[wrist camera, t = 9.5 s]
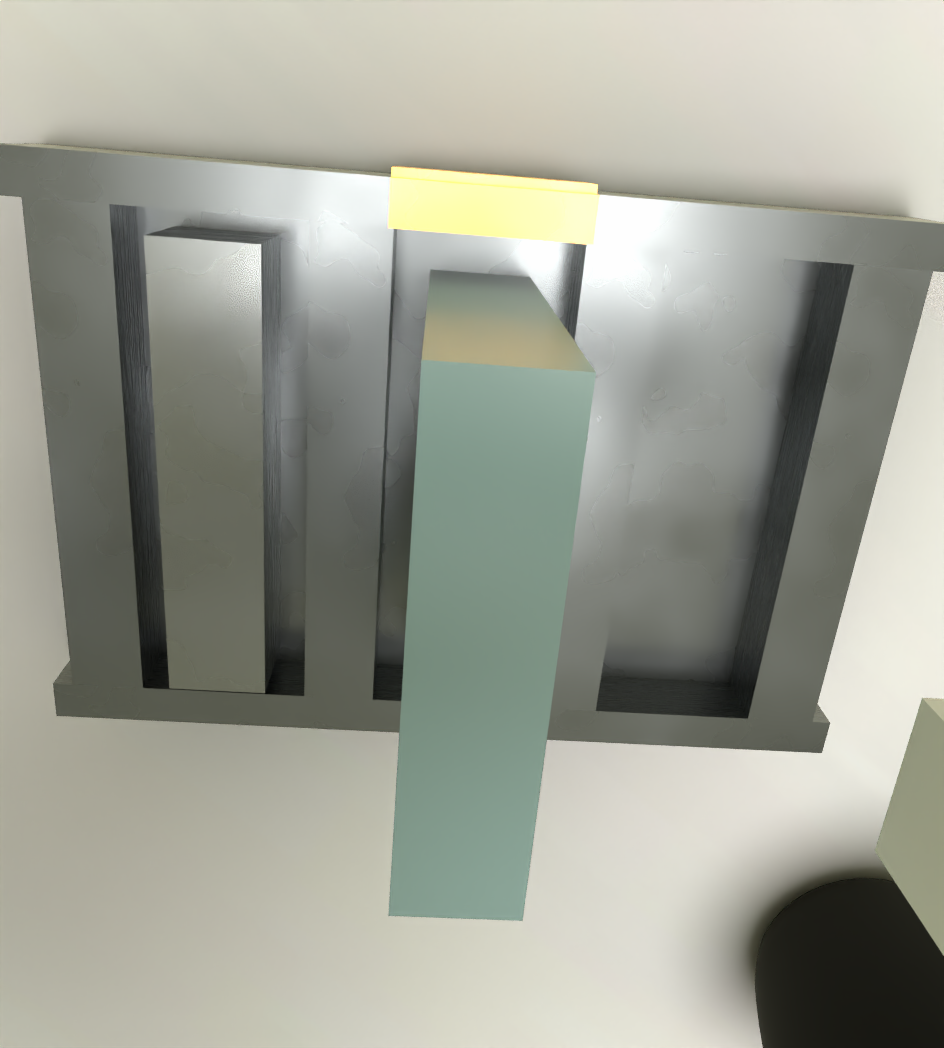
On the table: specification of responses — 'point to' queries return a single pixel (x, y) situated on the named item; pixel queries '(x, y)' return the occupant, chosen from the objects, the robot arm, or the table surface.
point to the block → (484, 590)
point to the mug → (850, 972)
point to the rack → (392, 419)
